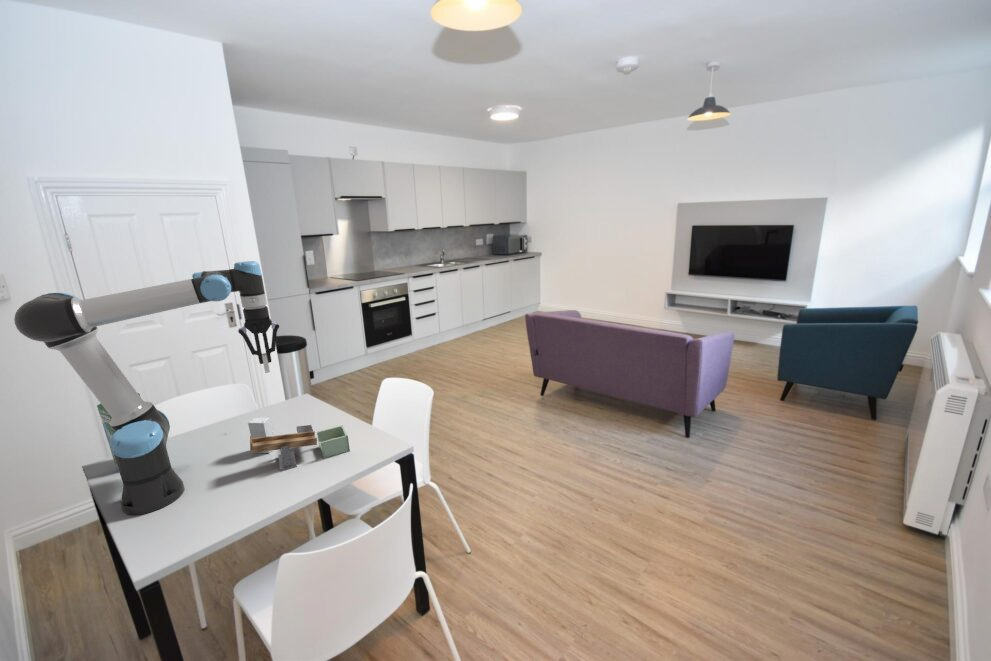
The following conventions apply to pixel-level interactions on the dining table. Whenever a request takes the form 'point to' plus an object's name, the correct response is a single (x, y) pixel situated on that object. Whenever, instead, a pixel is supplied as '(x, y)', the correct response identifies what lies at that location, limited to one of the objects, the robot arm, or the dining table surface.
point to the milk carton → (107, 425)
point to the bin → (333, 441)
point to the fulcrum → (286, 458)
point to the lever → (284, 440)
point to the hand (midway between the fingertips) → (267, 371)
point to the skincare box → (261, 428)
